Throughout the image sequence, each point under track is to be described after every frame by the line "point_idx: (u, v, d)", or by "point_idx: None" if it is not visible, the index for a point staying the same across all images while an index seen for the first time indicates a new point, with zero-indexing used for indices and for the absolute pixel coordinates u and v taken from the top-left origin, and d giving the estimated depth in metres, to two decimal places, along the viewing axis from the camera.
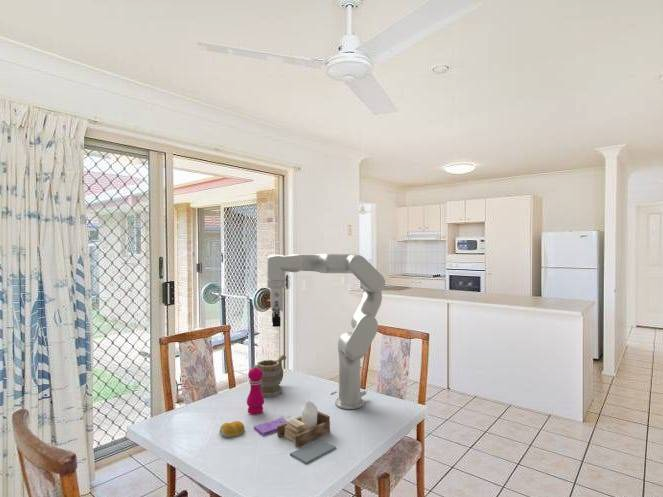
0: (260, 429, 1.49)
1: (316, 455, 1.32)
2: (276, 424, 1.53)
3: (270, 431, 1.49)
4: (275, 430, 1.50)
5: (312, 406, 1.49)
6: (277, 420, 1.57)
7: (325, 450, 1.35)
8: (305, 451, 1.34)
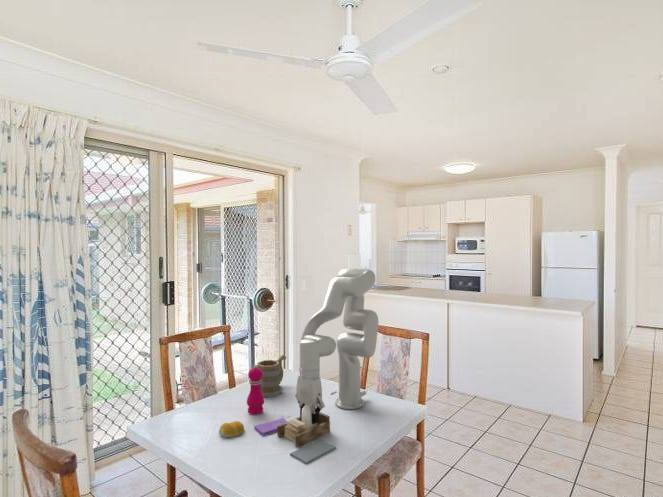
0: (260, 429, 1.49)
1: (316, 455, 1.32)
2: (276, 424, 1.53)
3: (270, 431, 1.48)
4: (275, 430, 1.50)
5: None
6: (278, 420, 1.57)
7: (325, 450, 1.35)
8: (305, 451, 1.34)
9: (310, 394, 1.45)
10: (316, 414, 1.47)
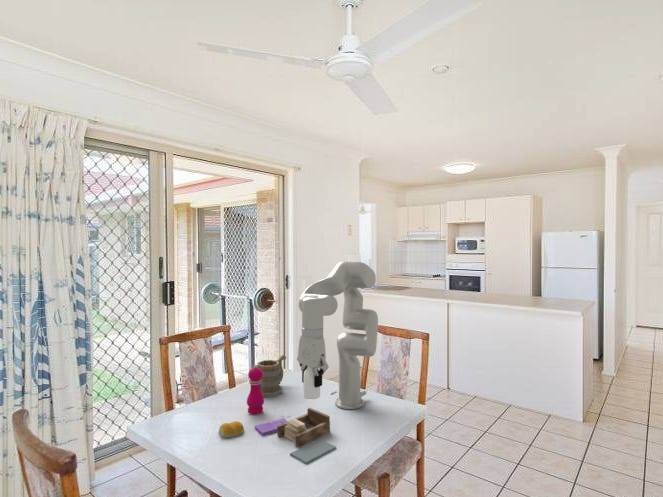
0: (260, 429, 1.49)
1: (316, 455, 1.32)
2: (277, 424, 1.53)
3: (270, 431, 1.48)
4: (275, 430, 1.50)
5: None
6: (278, 420, 1.56)
7: (325, 450, 1.35)
8: (305, 451, 1.34)
9: (313, 354, 1.35)
10: (319, 377, 1.36)
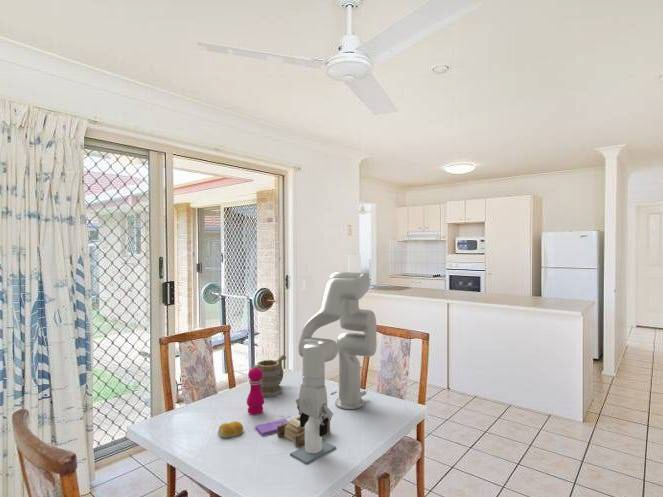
0: (260, 429, 1.49)
1: (316, 455, 1.32)
2: (277, 425, 1.53)
3: (270, 431, 1.48)
4: (275, 431, 1.49)
5: (316, 421, 1.35)
6: (279, 421, 1.56)
7: (325, 450, 1.35)
8: (305, 451, 1.34)
9: (314, 405, 1.31)
10: (324, 425, 1.31)
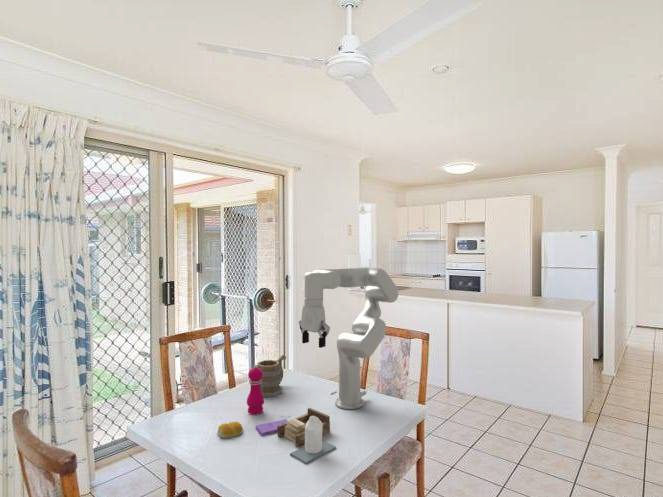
0: (260, 429, 1.50)
1: (316, 455, 1.32)
2: (277, 425, 1.53)
3: (269, 432, 1.48)
4: (275, 431, 1.49)
5: (317, 421, 1.35)
6: (280, 421, 1.56)
7: (325, 450, 1.35)
8: (305, 451, 1.34)
9: (314, 321, 1.56)
10: (323, 338, 1.56)
